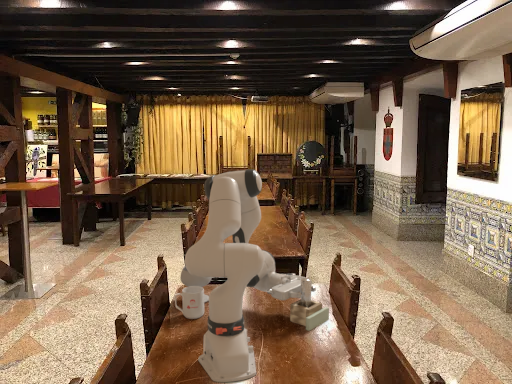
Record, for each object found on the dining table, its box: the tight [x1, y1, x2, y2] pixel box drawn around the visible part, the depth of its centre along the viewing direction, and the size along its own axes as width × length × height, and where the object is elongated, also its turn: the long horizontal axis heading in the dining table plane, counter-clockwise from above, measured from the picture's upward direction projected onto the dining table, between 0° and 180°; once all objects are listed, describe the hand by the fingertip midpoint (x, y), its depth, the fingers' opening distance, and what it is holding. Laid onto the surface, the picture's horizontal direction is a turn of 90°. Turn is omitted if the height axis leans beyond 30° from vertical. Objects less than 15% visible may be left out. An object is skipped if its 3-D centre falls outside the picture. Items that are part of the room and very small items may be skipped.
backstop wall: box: [305, 306, 330, 332], centre depth 172 cm, size 2×14×5 cm, turn 139°
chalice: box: [179, 266, 213, 304], centre depth 198 cm, size 14×14×15 cm
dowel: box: [300, 277, 312, 308], centre depth 174 cm, size 4×4×14 cm
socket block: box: [289, 298, 323, 327], centre depth 175 cm, size 9×9×7 cm
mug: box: [174, 286, 205, 320], centre depth 181 cm, size 12×9×11 cm
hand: (308, 292), depth 173 cm, fingers open, 8 cm apart
